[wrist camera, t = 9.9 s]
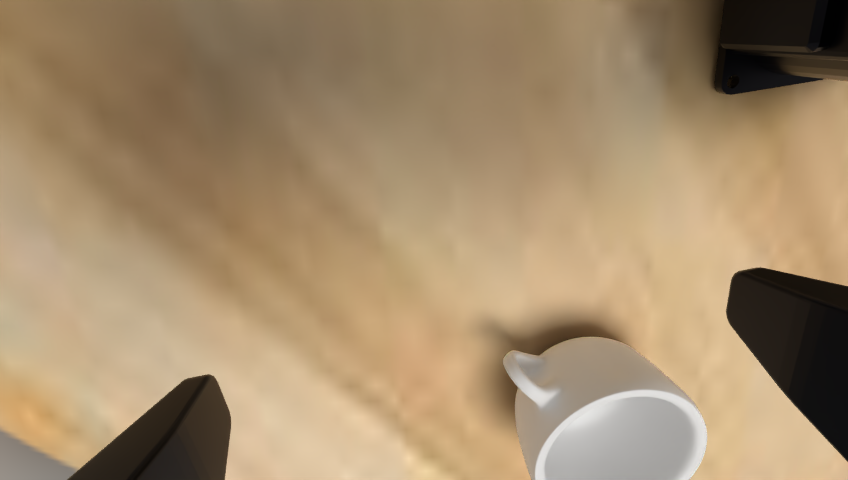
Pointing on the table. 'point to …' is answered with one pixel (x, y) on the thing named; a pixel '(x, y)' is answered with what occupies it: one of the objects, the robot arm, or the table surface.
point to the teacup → (602, 414)
